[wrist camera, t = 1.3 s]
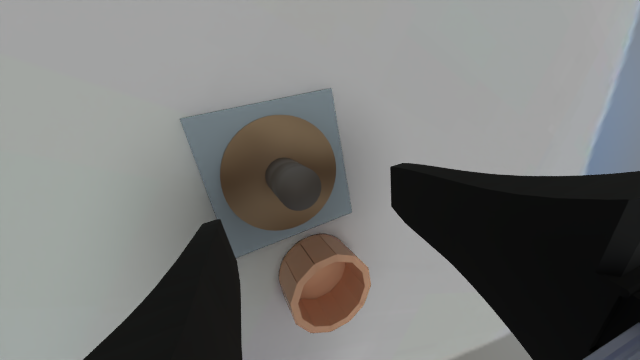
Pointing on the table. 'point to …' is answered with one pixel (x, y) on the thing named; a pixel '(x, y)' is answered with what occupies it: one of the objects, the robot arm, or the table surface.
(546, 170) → the table surface
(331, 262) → the bowl
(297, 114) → the mat
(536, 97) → the table surface
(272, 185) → the lid
